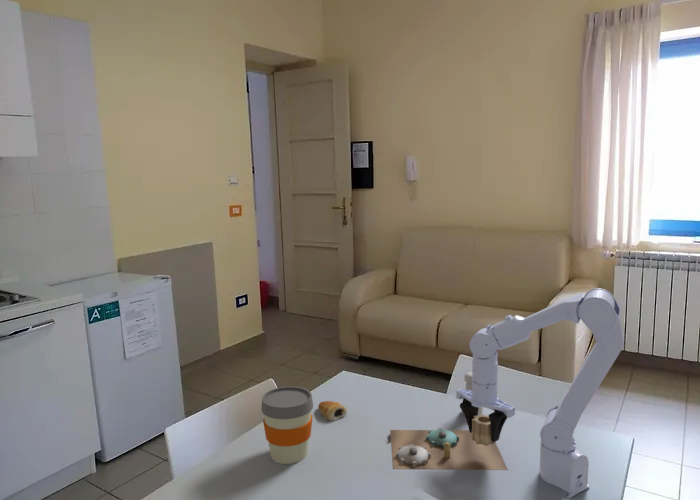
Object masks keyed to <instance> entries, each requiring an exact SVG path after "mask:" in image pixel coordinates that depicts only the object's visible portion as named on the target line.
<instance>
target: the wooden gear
mask: <svg viewBox="0 0 700 500" xmlns="http://www.w3.org/2000/svg"><path fill="white" fill-rule="evenodd" d="M472 441H475V442H476V444H483V445H485V446H488V445H489V444H495V443H496V442H492V440H491V423H490V419H489V415H486V414H483V413H482V414H480V415H478V416H476V415H475V416H473V419H472Z"/></svg>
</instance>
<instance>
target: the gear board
mask: <svg viewBox="0 0 700 500" xmlns="http://www.w3.org/2000/svg"><path fill="white" fill-rule="evenodd" d="M389 432H390V433H389V434H390V436H389V437H390V444H391V460H392V469H393V470H461V471H462V470H464V471H465V470H471V471H472V470H476V471H477V470H478V471H479V470H480V471H481V470H483V471H484V470H485V471H486V470H487V471H488V470H490V471H491V470H492V471H494V470H495V471H500V470H501V471H508V470H509V468H508V467H507V465H506V463H505V462H506V461H504V458H503V456H502V454H501V451H500V449H499V447H498V445H497V443H496V442H495V444H489V445H488V446H485V445H483V444H476V442H475V441H472V433H471V432H469V429H461V430H460V429H459V430H457V429H456V430H455V429H450V430H449V429H448V430H447V429H443V428H442V427H440V428H438V429H390V431H389Z"/></svg>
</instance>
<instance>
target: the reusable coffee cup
mask: <svg viewBox="0 0 700 500" xmlns="http://www.w3.org/2000/svg"><path fill="white" fill-rule="evenodd" d="M313 408H314V402H313V395H312V392H311V391H310V390H309V389H307V388H305V387H300V386H290V385H289V386H281V387H276V388H273V389H270V390H268V391H267V392H266V393H264V394H263V395H262V398H261V408H260V409H261V413H262V414H263V418H262V419H263V420H262V421H263V422H262V424H263V428H264V434H265V439H266V441H267V442H268V446H269V447H268V448H269V452H270V457H271V459H272V460H273V461H274V462H275V463H278V464H283V465H292V464H296V463H298V462H301V461H303V460H304V459H306V457H307V456H308V452H309V451H308V450H309V439H310V437H311V435H312V425H313V413H312V411H313Z"/></svg>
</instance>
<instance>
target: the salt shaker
mask: <svg viewBox="0 0 700 500" xmlns="http://www.w3.org/2000/svg"><path fill="white" fill-rule="evenodd" d="M463 377H464V381H465V383H466V384H465V388H464V389H465V390H470V391H472V371H468V372H466V373H465V374H464V376H463ZM483 410H484V409H483V407H479V409H478V415H480V414H483ZM461 413H462V414H463V415H464V413H463V411H462V410H461Z"/></svg>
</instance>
